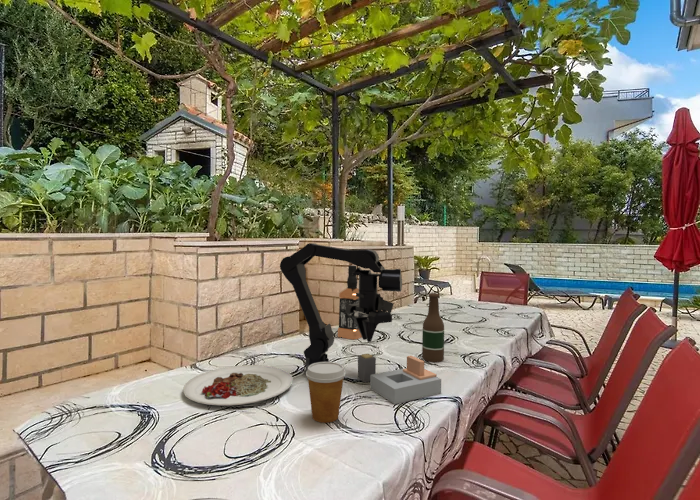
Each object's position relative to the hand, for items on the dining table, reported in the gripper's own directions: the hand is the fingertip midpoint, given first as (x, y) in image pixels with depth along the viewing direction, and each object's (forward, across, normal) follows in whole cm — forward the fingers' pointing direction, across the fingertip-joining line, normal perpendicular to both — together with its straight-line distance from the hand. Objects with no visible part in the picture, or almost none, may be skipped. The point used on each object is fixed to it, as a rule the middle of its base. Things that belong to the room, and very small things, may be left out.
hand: (367, 340), depth 116 cm
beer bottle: (+12, +6, -32) cm, 35 cm away
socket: (+12, -13, -5) cm, 18 cm away
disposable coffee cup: (+12, -17, +22) cm, 30 cm away
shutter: (+8, -13, -10) cm, 18 cm away
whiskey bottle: (+12, +49, -22) cm, 55 cm away
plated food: (+13, +11, +36) cm, 40 cm away
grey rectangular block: (+12, 0, 0) cm, 12 cm away
